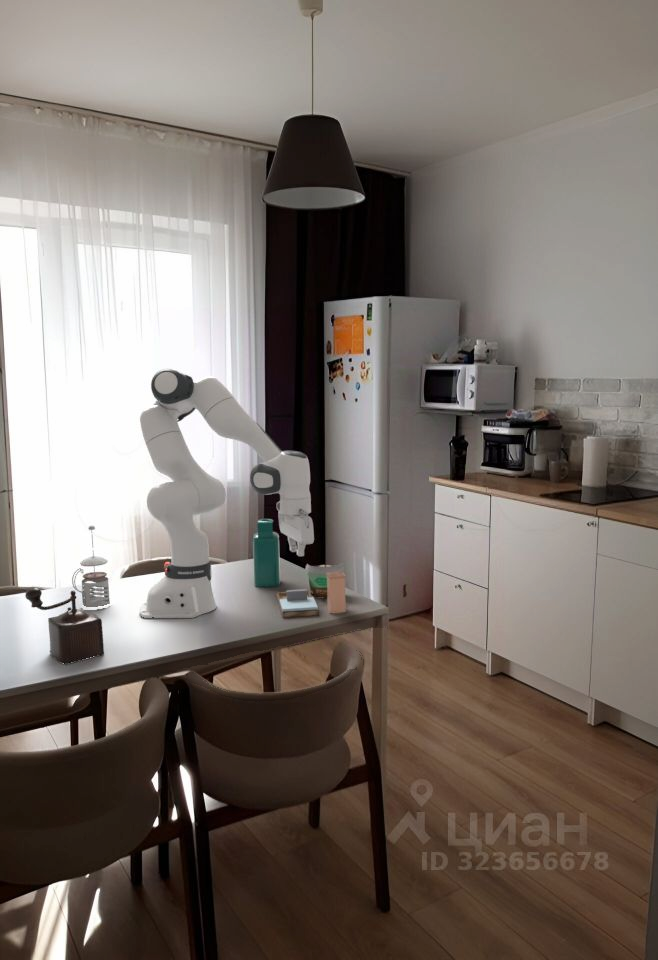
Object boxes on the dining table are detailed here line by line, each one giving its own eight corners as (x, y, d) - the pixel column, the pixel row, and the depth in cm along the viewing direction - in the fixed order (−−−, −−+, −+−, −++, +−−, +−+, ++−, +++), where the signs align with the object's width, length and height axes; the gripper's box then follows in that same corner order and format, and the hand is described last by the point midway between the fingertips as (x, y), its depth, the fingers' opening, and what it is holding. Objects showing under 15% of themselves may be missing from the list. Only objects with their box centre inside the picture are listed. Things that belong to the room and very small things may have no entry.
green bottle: (255, 580, 250) (253, 517, 247) (280, 579, 251) (278, 516, 248) (254, 588, 241) (251, 522, 238) (279, 587, 241) (278, 521, 238)
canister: (329, 613, 213) (328, 576, 212) (327, 608, 218) (326, 572, 216) (346, 612, 214) (345, 575, 212) (343, 607, 219) (342, 571, 217)
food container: (306, 599, 227) (305, 568, 226) (305, 594, 233) (305, 563, 232) (345, 598, 228) (345, 567, 226) (344, 593, 234) (344, 562, 232)
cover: (282, 611, 210) (282, 599, 210) (279, 601, 220) (279, 590, 220) (317, 609, 212) (317, 597, 212) (313, 599, 222) (313, 588, 221)
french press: (118, 605, 225) (113, 525, 221) (81, 614, 217) (75, 531, 214) (105, 598, 232) (100, 521, 229) (69, 606, 225) (63, 526, 222)
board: (282, 617, 210) (282, 612, 210) (276, 596, 231) (276, 592, 231) (318, 615, 212) (318, 610, 212) (309, 594, 233) (309, 590, 232)
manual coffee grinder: (88, 643, 193) (84, 576, 190) (105, 654, 184) (101, 585, 182) (27, 657, 183) (22, 587, 181) (42, 670, 175) (36, 597, 172)
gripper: (318, 511, 204) (320, 560, 206) (294, 501, 223) (295, 545, 225) (297, 513, 202) (298, 562, 204) (274, 502, 221) (275, 547, 223)
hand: (296, 553), depth 214 cm, fingers open, 5 cm apart
